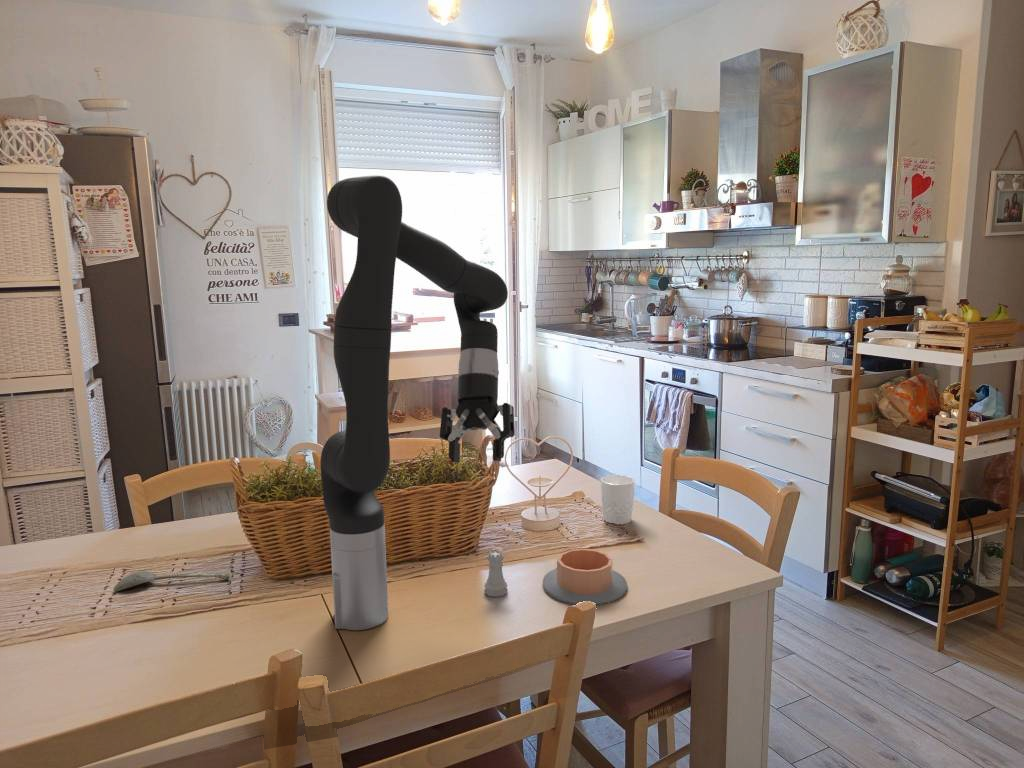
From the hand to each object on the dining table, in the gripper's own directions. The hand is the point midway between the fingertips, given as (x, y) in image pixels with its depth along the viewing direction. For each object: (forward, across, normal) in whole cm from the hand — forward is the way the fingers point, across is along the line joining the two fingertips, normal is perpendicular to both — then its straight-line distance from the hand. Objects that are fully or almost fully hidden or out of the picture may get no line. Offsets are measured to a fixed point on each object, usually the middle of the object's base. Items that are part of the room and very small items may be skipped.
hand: (475, 461), depth 133 cm
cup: (+22, +15, +19) cm, 32 cm away
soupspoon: (+23, -60, -10) cm, 66 cm away
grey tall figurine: (+24, 0, +10) cm, 26 cm away
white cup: (+8, +12, +53) cm, 55 cm away
